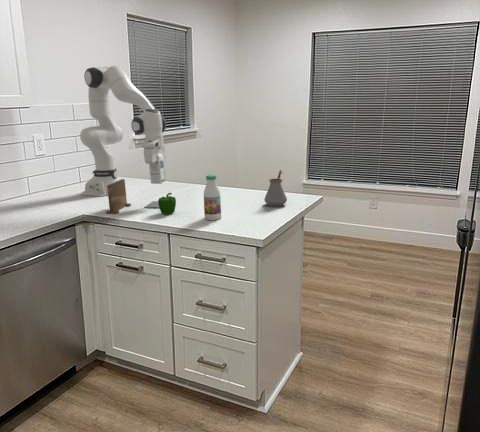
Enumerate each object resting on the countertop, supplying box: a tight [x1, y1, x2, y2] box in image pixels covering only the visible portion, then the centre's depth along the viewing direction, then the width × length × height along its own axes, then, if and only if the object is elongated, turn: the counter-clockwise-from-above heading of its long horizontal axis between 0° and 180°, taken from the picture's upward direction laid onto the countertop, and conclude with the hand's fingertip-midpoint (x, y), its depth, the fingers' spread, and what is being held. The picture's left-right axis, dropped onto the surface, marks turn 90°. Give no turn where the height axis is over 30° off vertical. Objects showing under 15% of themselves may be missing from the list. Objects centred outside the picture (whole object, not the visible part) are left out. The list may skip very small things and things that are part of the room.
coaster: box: [144, 200, 160, 209], centre depth 235 cm, size 12×12×1 cm
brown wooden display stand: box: [105, 178, 132, 215], centre depth 227 cm, size 6×16×14 cm, turn 169°
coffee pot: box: [263, 170, 288, 208], centre depth 232 cm, size 21×12×15 cm, turn 165°
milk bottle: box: [203, 174, 222, 221], centre depth 206 cm, size 8×8×20 cm
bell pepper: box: [157, 192, 177, 216], centre depth 217 cm, size 8×8×10 cm
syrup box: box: [148, 154, 166, 185], centre depth 230 cm, size 6×6×14 cm
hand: (156, 169), depth 230 cm, fingers closed on syrup box, 6 cm apart
